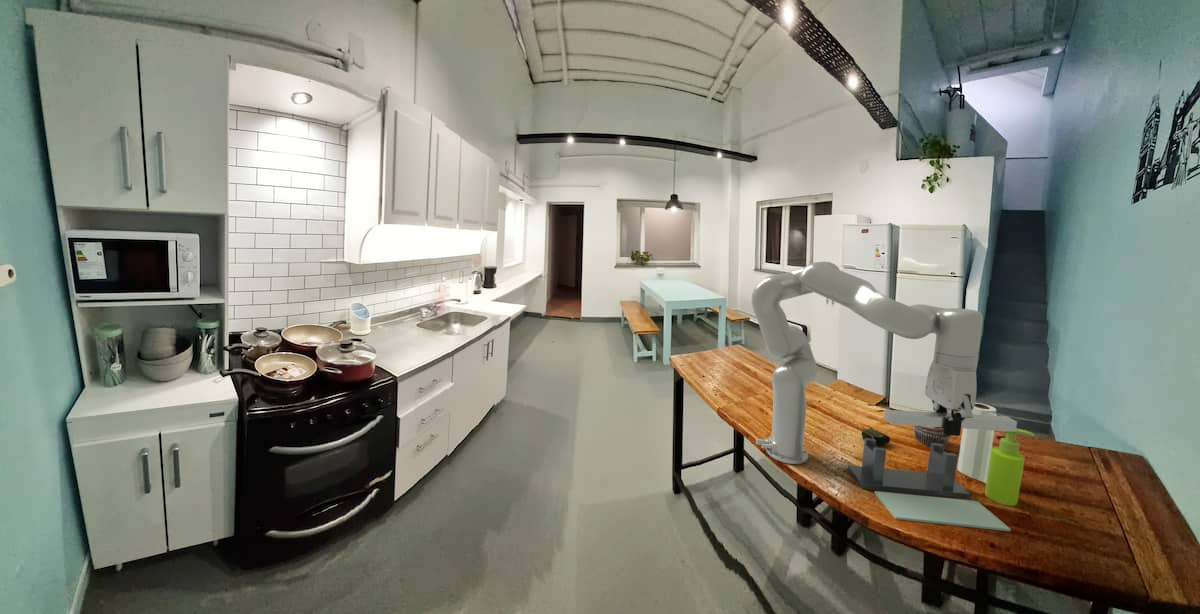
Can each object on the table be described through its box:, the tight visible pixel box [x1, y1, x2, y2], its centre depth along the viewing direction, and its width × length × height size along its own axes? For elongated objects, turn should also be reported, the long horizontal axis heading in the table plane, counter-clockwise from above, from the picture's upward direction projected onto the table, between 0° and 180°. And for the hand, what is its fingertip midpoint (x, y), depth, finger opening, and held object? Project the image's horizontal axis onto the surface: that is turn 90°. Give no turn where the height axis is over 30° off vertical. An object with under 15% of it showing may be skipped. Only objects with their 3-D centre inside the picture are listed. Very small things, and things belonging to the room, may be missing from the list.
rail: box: [883, 409, 1018, 432], centre depth 90 cm, size 26×3×2 cm, turn 78°
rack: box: [846, 438, 972, 500], centre depth 104 cm, size 26×9×12 cm, turn 78°
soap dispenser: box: [984, 427, 1036, 507], centre depth 96 cm, size 6×7×20 cm
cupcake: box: [913, 426, 952, 449], centre depth 125 cm, size 10×10×10 cm
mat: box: [874, 490, 1012, 532], centre depth 94 cm, size 24×10×1 cm, turn 78°
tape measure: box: [861, 428, 891, 447], centre depth 127 cm, size 7×7×4 cm
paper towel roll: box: [956, 402, 998, 484], centre depth 107 cm, size 7×6×21 cm
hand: (945, 430), depth 91 cm, fingers closed on rail, 3 cm apart
